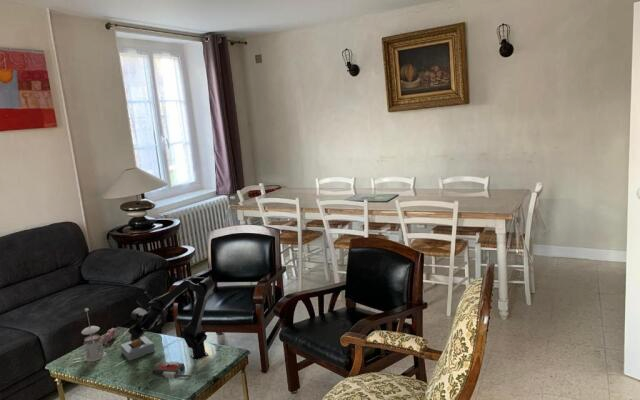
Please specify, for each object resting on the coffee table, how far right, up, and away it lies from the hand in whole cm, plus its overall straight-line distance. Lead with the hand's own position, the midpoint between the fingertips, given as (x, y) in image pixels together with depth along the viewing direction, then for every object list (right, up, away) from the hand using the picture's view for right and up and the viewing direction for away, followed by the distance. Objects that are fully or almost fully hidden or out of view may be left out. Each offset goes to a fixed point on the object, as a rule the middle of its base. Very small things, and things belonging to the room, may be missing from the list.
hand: (137, 336), depth 233 cm
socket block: (0, -8, +2) cm, 8 cm away
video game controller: (-21, -7, +18) cm, 29 cm away
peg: (0, -8, +2) cm, 8 cm away
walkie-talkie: (+25, -11, -21) cm, 35 cm away
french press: (-21, -10, +2) cm, 24 cm away
